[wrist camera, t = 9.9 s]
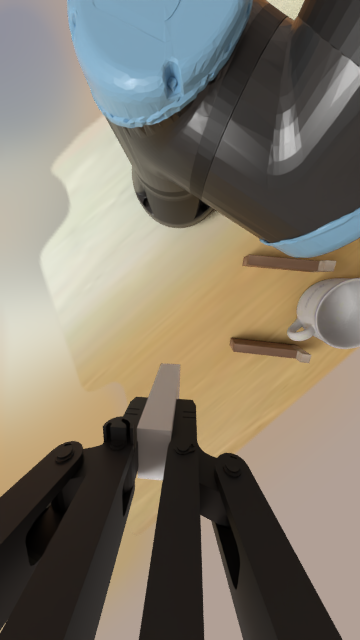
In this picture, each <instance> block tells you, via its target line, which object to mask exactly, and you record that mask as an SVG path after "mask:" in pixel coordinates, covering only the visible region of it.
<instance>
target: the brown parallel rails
mask: <svg viewBox="0 0 360 640" xmlns="http://www.w3.org/2000/svg"><path fill="white" fill-rule="evenodd" d="M335 264H336V261H329V260H325V261H312V260H301V259H290V258H279V257H267V256H256V255H248V256H246V257H244V260H243V266H250V267H261V268H272V269H283V270H294V271H305V272H328V271H334V268H335ZM230 346H231V348H232V350H233V352H242V353H251V354H260V355H269V356H278V357H286V358H295V359H297V360H298V361H300V362H304V363H309V362H310V358H311V355H310V354H309V353H307V352H306V351H304V350H303V349H301V348H300V347H298V346H296V345H291V344H282V343H272V342H263V341H254V340H245V339H236V338H231V341H230Z"/></svg>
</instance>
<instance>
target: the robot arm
mask: <svg viewBox="0 0 360 640" xmlns="http://www.w3.org/2000/svg"><path fill="white" fill-rule="evenodd" d="M67 12H68V22H69V28H70V32H71V35H72V41H73V45H74V48H75V53H76V56H77V59H78V61H79V64H80V66H81V68H82V71H83V73H84V75H85V78H86V80H87V82H88V85H89V87H90V89H91V93H92V96H93V99H94V101H95V102H96V104H97V106H98V108H99V110H101V112H102V114H103V115H104V116H105V117H106V119H107V121H108V123H109V124H110V126H111V128H112V130H113V132H114V134H115V135H116V137H117V139H118V141H119V143H120V144H121V146H122V148H123V150H124V152H125V154H126V155H127V157H128V159H129V161H130V163H131V165H132V180H133V186H134V189H135V192H136V195H137V198H138V200H139V201H140V203H141V205H142V206H143V208H144V209H145V211H146V212H147V213H148V214H149V215H150V216H151V217H152V218H153V219H154V220H156V221H157V222H159V223H160V224H163V225H165V226H168V227H173V228H184V227H188V226H192V225H194V224H196V223H198V222H200V221H201V220H203V219H204V218H205V217H206V216H208V214H209V213H210V212H211V211H212V210H213V209H215V210H216V211H218V212H219V213H221V214H222V215H224V216H225V217H227V218H229V219H230V220H232V221H233V222H235V223H236V224H238V225H239V226H241V227H242V228H244V229H246V230H247V231H249V232H250V233H252V234H253V235H255V236H256V237H258V238H259V239H260V241H261V242H262V243H263V244H265V245H269V246H273V247H275V248H276V249H278V250H280V251H282V252H283V253H285V254H287V255H289V256H292V257H296V258H299V257H302V258H310V257H316V256H319V255H323V254H326V253H329V252H332V251H334V250H337V249H339V248H341V247H343V246H345V245H347V244H349V243H351V242H353V241H355V240H357V239H358V238H360V0H305V1H304V3H303V5H302V8H301V10H300V12H299V14H298V16H297V17H296V19H295V20H293V19H291V18H289V17H288V16H286V15H285V14H284V13H282V12H281V11H279V10H278V9H277V8H275V7H274V6H273V5H271V4H270V3H269V2H268V1H266V0H67ZM179 387H180V365H179V364H162V363H161V365H160V368H159V370H158V373H157V376H156V378H155V381H154V384H153V386H152V389H151V392H150V394H149V397H148V398H146V397H136V398H134V399H133V400H132V401H131V402H130V404H129V406H128V408H127V410H126V412H125V414H124V416H123V417H116V418H113V419H111V420H109V421H108V422H106V423H105V424H104V426H103V434H104V443H103V444H102V445H100V446H96V447H92V448H87V449H83V447H82V445H81V444H80V443H79V442H75V441H71V442H66V443H64V444H61V445H59V446H58V447H56V448H55V449H53V450H52V451H51V452H50V453H49V454H48V455H47V456H46V457H45V458H43V459H42V460H41V461H40V462H39V463H38V464H37V465H36V466H35V467H33V468H32V469H31V470H30V471H29V472H28V473H27V474H26V475H25V476H23V477H22V478H21V479H20V480H19V481H18V482H17V483H16V484H15V485H13V486H12V487H11V488H10V489H9V490H8V491H7V492H6V493H5V494H3V496H1V497H0V630H1V628H2V627H3V625H4V624H5V623H6V624H5V626H4V627H3V630H2V631H1V633H0V640H94V638H95V635H96V631H97V627H98V624H99V620H100V616H101V613H102V609H103V605H104V602H105V598H106V594H107V591H108V587H109V583H110V580H111V576H112V572H113V568H114V565H115V561H116V557H117V554H118V550H119V546H120V543H121V539H122V535H123V532H124V528H125V524H126V521H127V517H128V513H129V510H130V506H131V502H132V498H133V495H134V490H135V478H136V474H137V471H138V478H143V479H154V480H163V482H162V489H161V496H160V502H159V509H158V516H157V522H156V529H155V536H154V542H153V549H152V556H151V562H150V569H149V576H148V582H147V589H146V596H145V602H144V610H143V617H142V623H141V629H140V636H139V640H204V620H203V588H202V557H201V525H200V515H202V516H204V517H206V518H207V519H209V520H211V521H212V525H213V529H214V533H215V536H216V540H217V544H218V547H219V551H220V554H221V559H222V562H223V566H224V570H225V573H226V577H227V581H228V585H229V588H230V592H231V595H232V599H233V603H234V607H235V611H236V614H237V618H238V622H239V625H240V629H241V633H242V637H243V640H342V638H341V636H340V634H339V632H338V631H337V629H336V627H335V625H334V623H333V621H332V620H331V618H330V616H329V614H328V612H327V611H326V609H325V607H324V605H323V603H322V601H321V599H320V598H319V596H318V594H317V592H316V590H315V589H314V586H313V585H312V583H311V581H310V579H309V578H308V576H307V574H306V572H305V570H304V568H303V566H302V564H301V563H300V561H299V559H298V557H297V555H296V553H295V552H294V550H293V548H292V546H291V544H290V542H289V540H288V539H287V537H286V535H285V533H284V531H283V529H282V528H281V526H280V524H279V522H278V520H277V518H276V517H275V515H274V513H273V511H272V509H271V507H270V506H269V504H268V502H267V500H266V498H265V497H264V495H263V493H262V491H261V489H260V487H259V485H258V483H257V482H256V480H255V478H254V476H253V475H252V472H251V471H250V469H249V467H248V465H247V464H246V463H245V461H244V460H243V459H242V458H240V457H239V456H237V455H235V454H232V453H224V454H221V455H220V456H219V457H218V458H215V457H213V456H210V455H208V454H206V453H205V452H204V451H202V450H201V448H200V447H199V445H198V443H197V426H196V405H195V403H194V402H193V400H185V399H179ZM6 621H7V622H6Z"/></svg>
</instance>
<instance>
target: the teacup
mask: <svg viewBox="0 0 360 640" xmlns="http://www.w3.org/2000/svg"><path fill="white" fill-rule="evenodd" d="M301 327H303V328H304V329H305V330H304V331H301V332H296V331H297V330H298V329H300V328H301ZM287 334H288V336H289V338H290V339H292V340H294V341H303V340H307V339H309V338H310V337H312V336H315V337H316V338H318V339H320V340H322V341H324V342H325V343H326V344H328V345H330V346H332V347H335V348H340V349H350V348H356V347H359V346H360V278H333V279H327V280H323V281H320V282H317V283H315V284H314V285H312V286H311V287H309V288H308V289H307V290H306V291H305V292H304V293H303V295H302V296H301V298H300V300H299V302H298V305H297V319H296V320H295V322H294V323H293V324H292V325H291V326H290V327H289V328H288V330H287Z"/></svg>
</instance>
